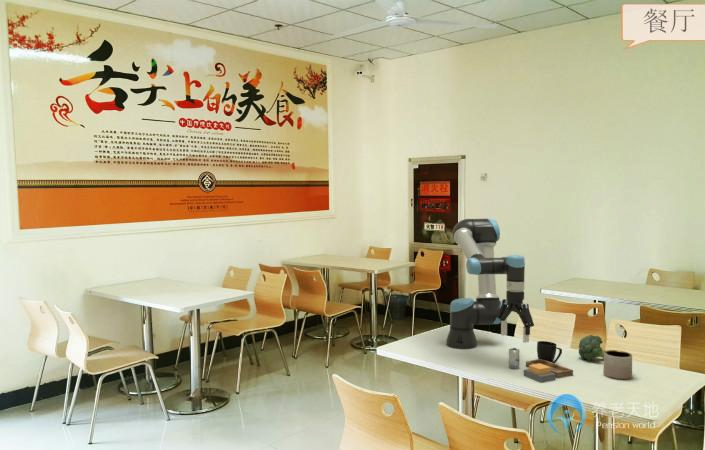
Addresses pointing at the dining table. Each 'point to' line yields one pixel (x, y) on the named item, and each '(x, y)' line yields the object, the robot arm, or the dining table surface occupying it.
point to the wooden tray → (552, 368)
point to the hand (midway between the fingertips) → (514, 338)
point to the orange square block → (539, 369)
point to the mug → (547, 351)
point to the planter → (617, 364)
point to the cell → (514, 358)
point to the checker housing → (540, 376)
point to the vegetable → (591, 347)
